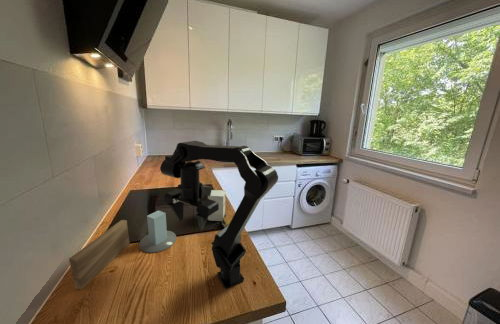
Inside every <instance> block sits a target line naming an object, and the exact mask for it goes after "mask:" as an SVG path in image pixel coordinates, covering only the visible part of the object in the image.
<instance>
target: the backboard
mask: <svg viewBox="0 0 500 324" xmlns="http://www.w3.org/2000/svg"><path fill="white" fill-rule="evenodd" d="M128 228H129V227H128V221H127V219H126V220H125V219H121V220H120V221H118V222H117V223H115V224H113V225H112V226H111V227H110V228H109V229H107V230H106V231H104V232H103V233H101V234H100V235H99V236H98V237H97V238H94V239H93V240H92V241H90V242H89V243H88V244H87V245H86V246H84V247H83V248H82V249H80V250H79V251H77V252H76V253H74V254H73V255H72V256H71V257H69V258H68V261H69V264H70V265H69V266H70V269H71V275H72V279H73V285H74V288H75V290H83V289H84V288H85V287H86V286H87V285H88V284H89V283H91V281H92V280H93V279H95V277H97V276H98V275H99V274H100V273H101V272H102V271H103V270H104V269H105V268H106V267H107V266H108V265H109V264H111V262H112V261H113V260H115V258H116V257H117V256H119V255H120V254H121V253H122V252H123V250H125V249H126V248H127V247H128V246H129V245H130V237H129V229H128Z"/></svg>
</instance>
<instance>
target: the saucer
mask: <svg viewBox="0 0 500 324" xmlns="http://www.w3.org/2000/svg"><path fill="white" fill-rule="evenodd" d="M176 241H177V235H176V233H175V232H174V231H171V230H167V239H165V240H164V241H162V242H161V243H159V244H158V245H155V244H153V243H151V242H149V234H146V235H145V236H143V237H142V238H141V239H140V241H139V244H138V245H139V249H140V250H141V251H142V252H144V253H149V254H153V253H154V254H155V253H160V252H163V251H166V250H168V249H170V248H171V247H172V246H173V245H174V244H175V243H176Z"/></svg>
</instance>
